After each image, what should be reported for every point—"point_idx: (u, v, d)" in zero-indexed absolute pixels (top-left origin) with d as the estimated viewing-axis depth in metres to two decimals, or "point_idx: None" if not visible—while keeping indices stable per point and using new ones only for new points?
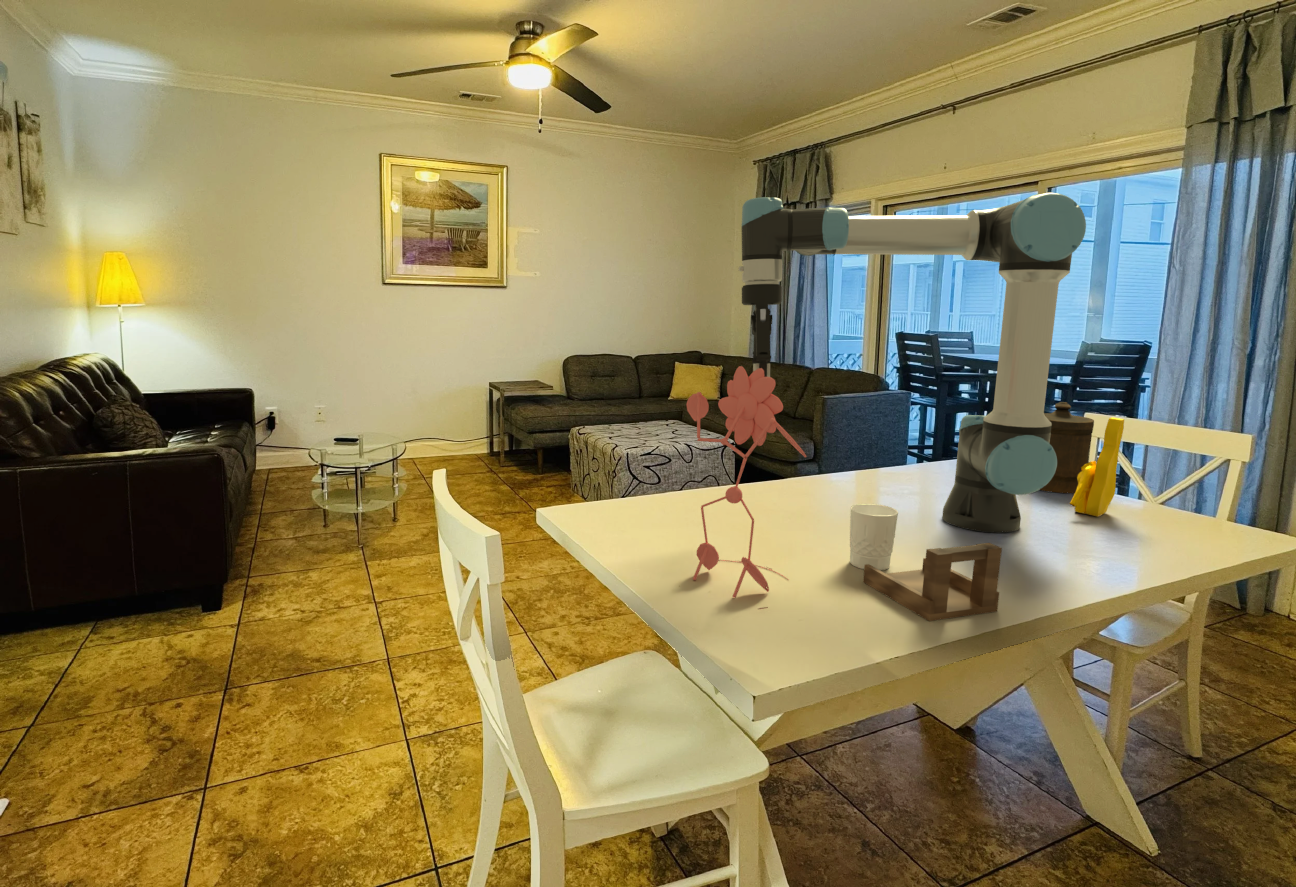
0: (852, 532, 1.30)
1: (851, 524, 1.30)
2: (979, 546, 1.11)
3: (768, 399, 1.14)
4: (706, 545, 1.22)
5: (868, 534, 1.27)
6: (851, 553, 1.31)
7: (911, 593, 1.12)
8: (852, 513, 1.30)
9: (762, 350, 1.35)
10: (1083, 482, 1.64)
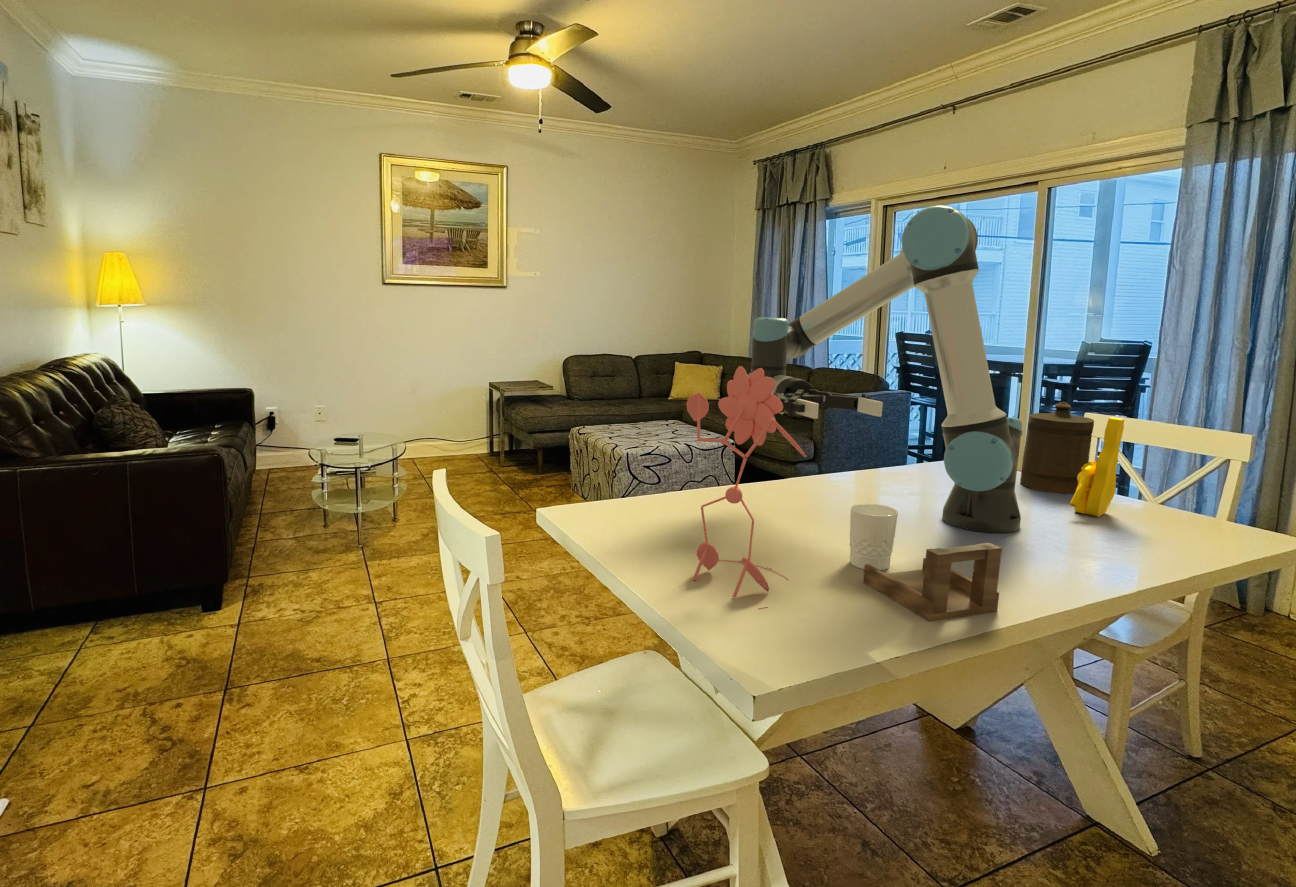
0: (852, 532, 1.30)
1: (851, 524, 1.30)
2: (979, 546, 1.11)
3: (767, 399, 1.14)
4: (706, 545, 1.22)
5: (868, 534, 1.27)
6: (851, 553, 1.31)
7: (911, 593, 1.12)
8: (852, 513, 1.30)
9: None
10: (1083, 482, 1.64)
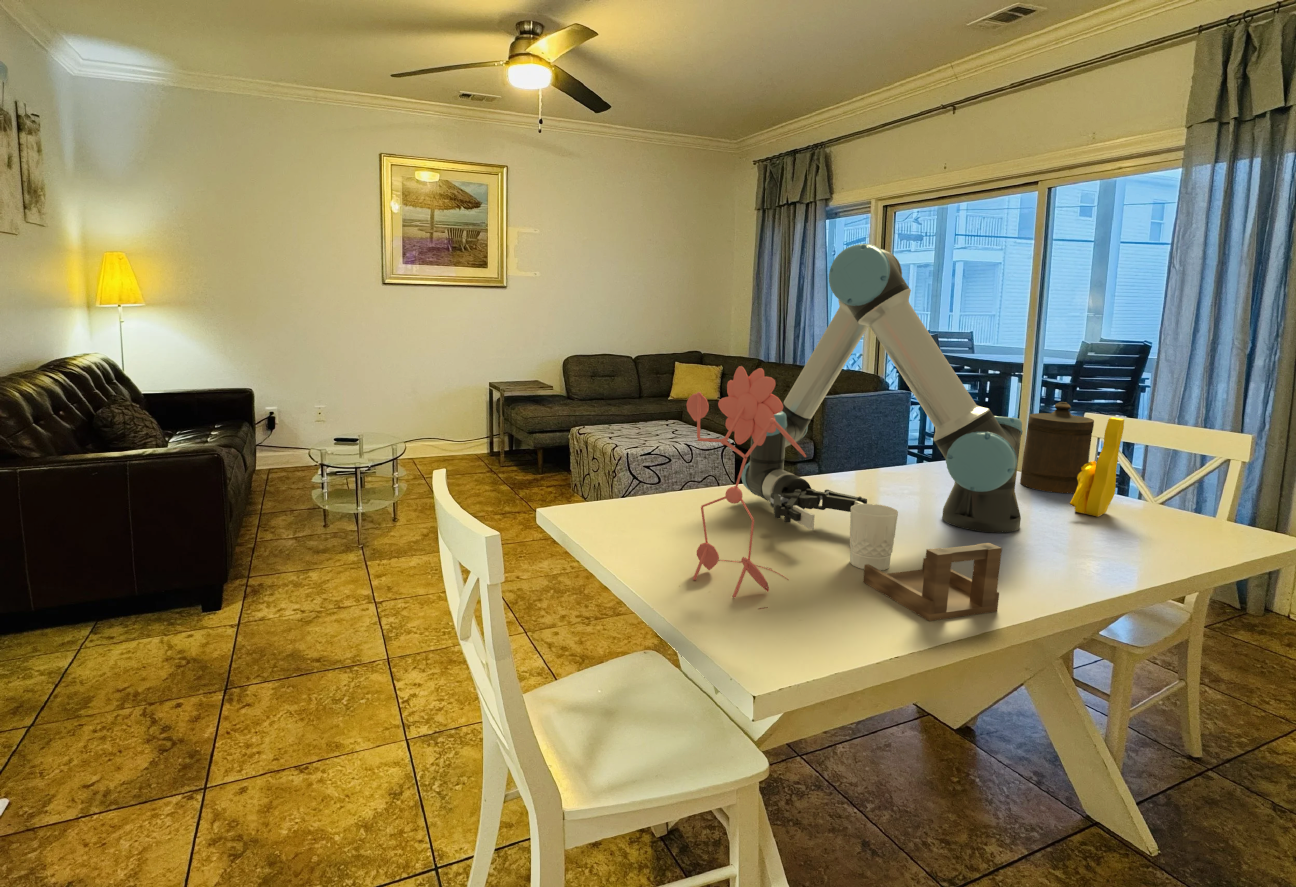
0: (852, 532, 1.30)
1: (851, 524, 1.30)
2: (979, 546, 1.11)
3: (767, 399, 1.14)
4: (706, 545, 1.22)
5: (868, 534, 1.27)
6: (851, 553, 1.31)
7: (911, 593, 1.12)
8: (852, 513, 1.30)
9: (774, 511, 1.43)
10: (1083, 482, 1.64)
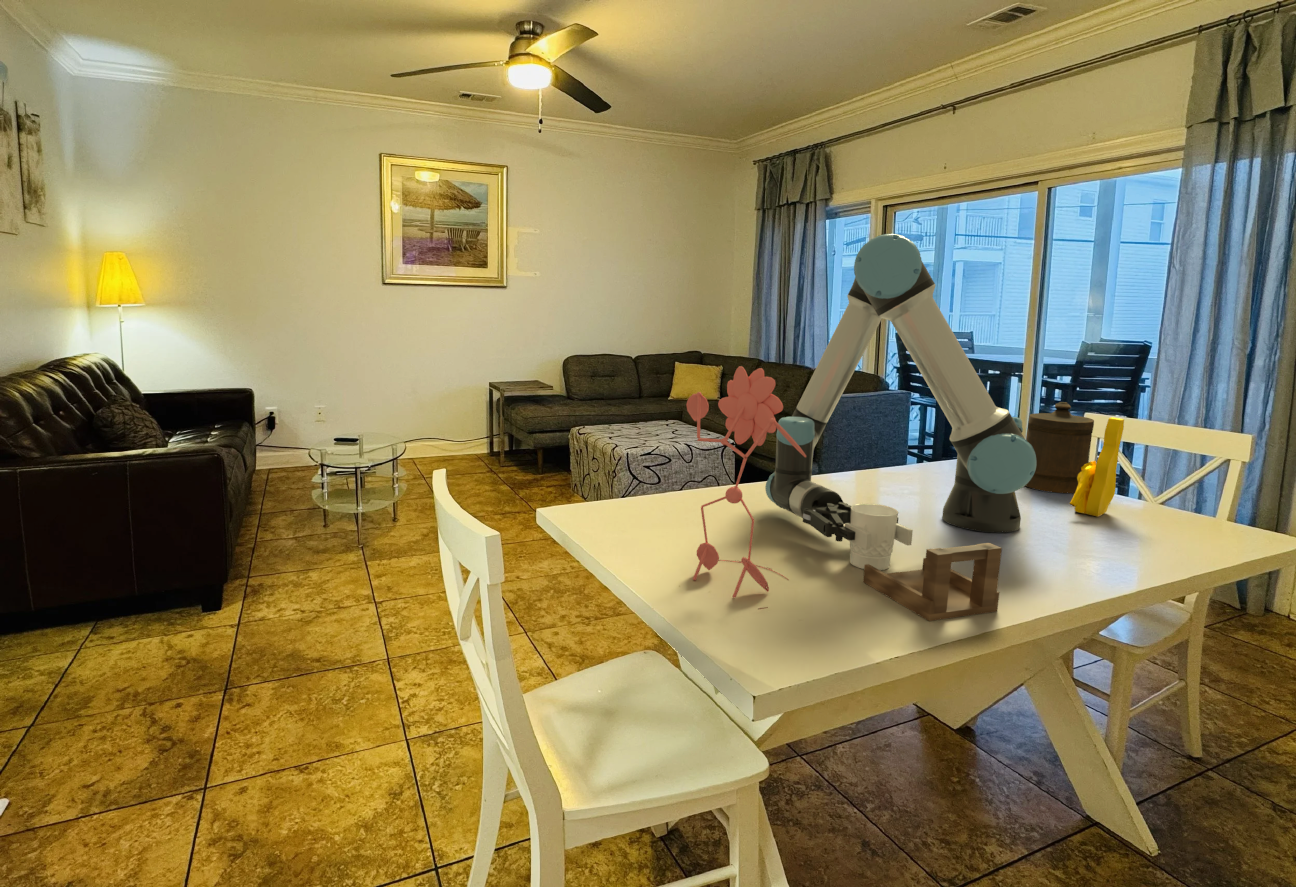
0: None
1: None
2: (979, 546, 1.11)
3: (767, 399, 1.14)
4: (706, 545, 1.22)
5: None
6: (851, 553, 1.31)
7: (911, 593, 1.12)
8: (852, 513, 1.30)
9: (822, 529, 1.32)
10: (1083, 482, 1.64)
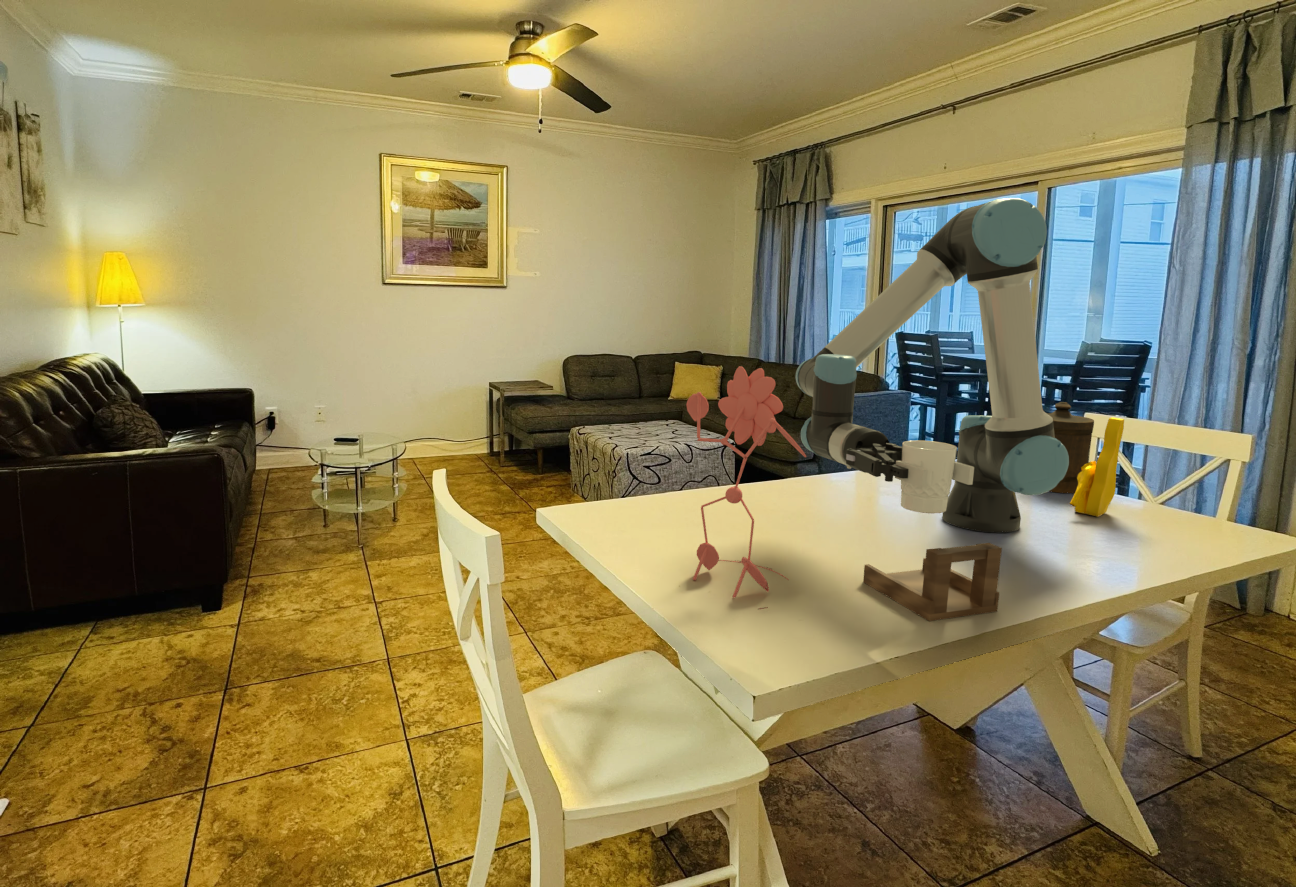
0: None
1: (903, 461, 1.15)
2: (979, 546, 1.11)
3: (767, 399, 1.14)
4: (706, 545, 1.22)
5: None
6: (902, 495, 1.16)
7: (911, 593, 1.12)
8: (904, 449, 1.15)
9: (870, 468, 1.17)
10: (1083, 482, 1.64)
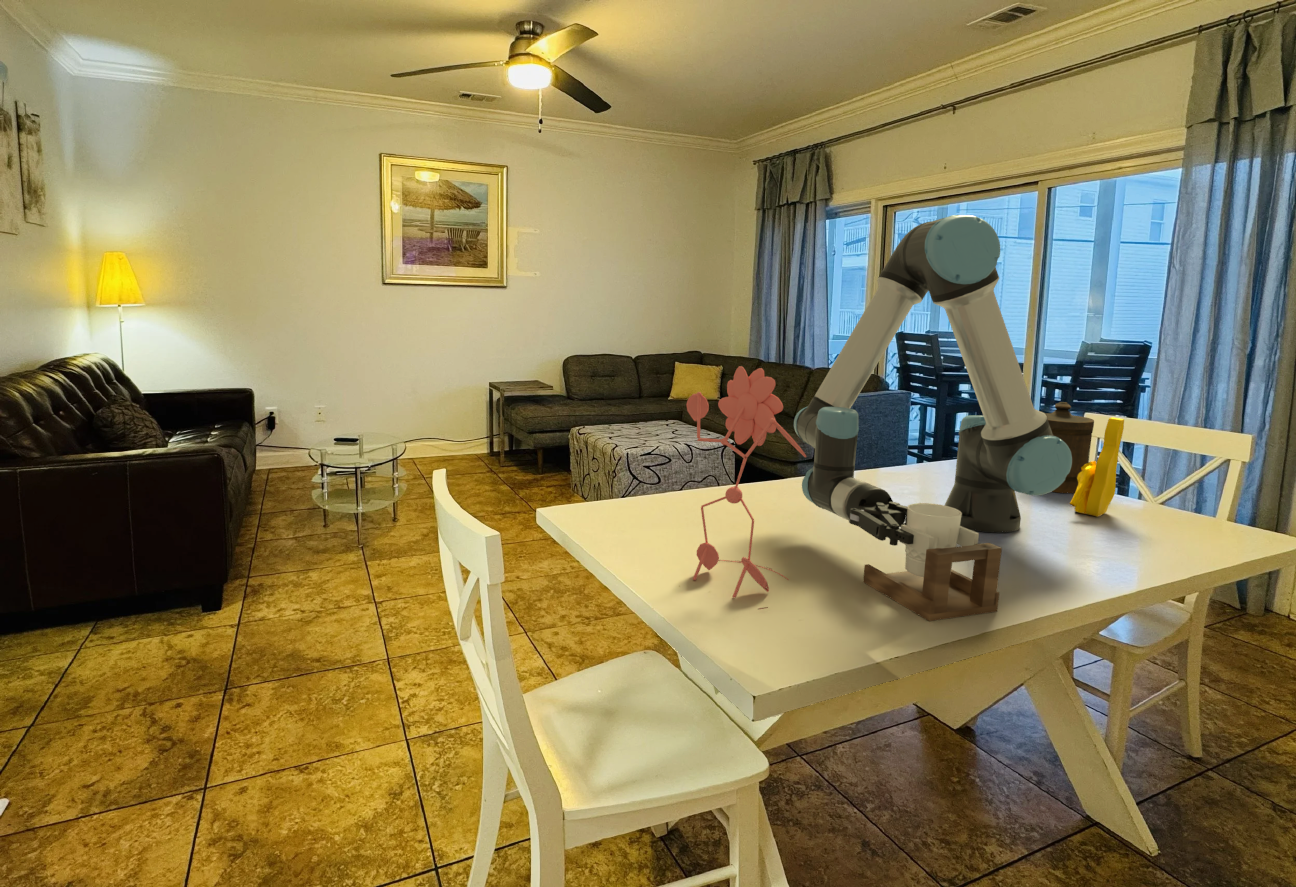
0: None
1: None
2: (979, 546, 1.11)
3: (767, 399, 1.14)
4: (706, 545, 1.22)
5: None
6: (907, 558, 1.17)
7: (911, 593, 1.12)
8: (910, 513, 1.15)
9: (875, 531, 1.18)
10: (1083, 482, 1.64)
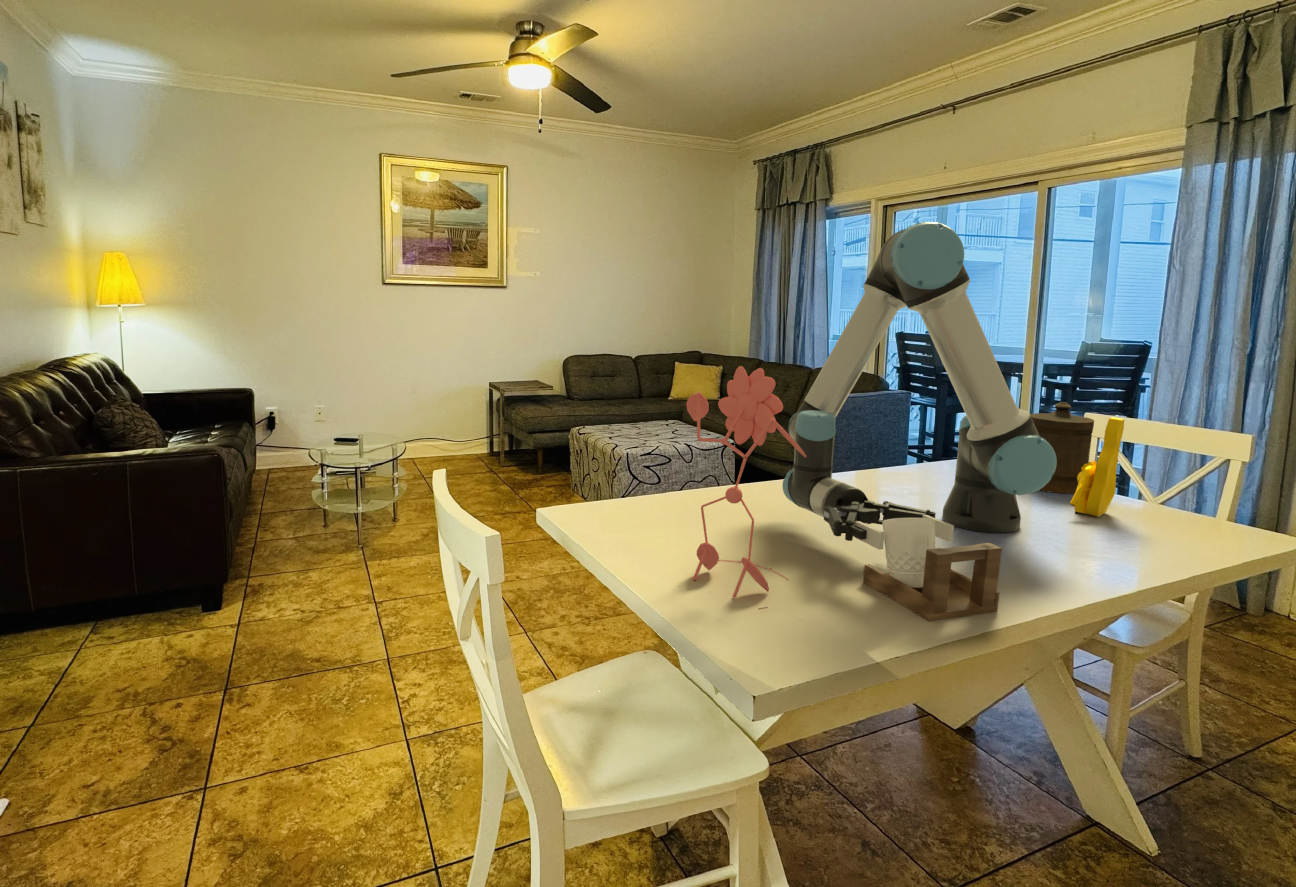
0: (889, 548, 1.17)
1: (886, 539, 1.18)
2: (979, 546, 1.11)
3: (767, 399, 1.14)
4: (706, 545, 1.22)
5: (908, 546, 1.15)
6: (891, 573, 1.18)
7: (911, 593, 1.12)
8: (886, 526, 1.18)
9: (833, 527, 1.25)
10: (1083, 482, 1.64)
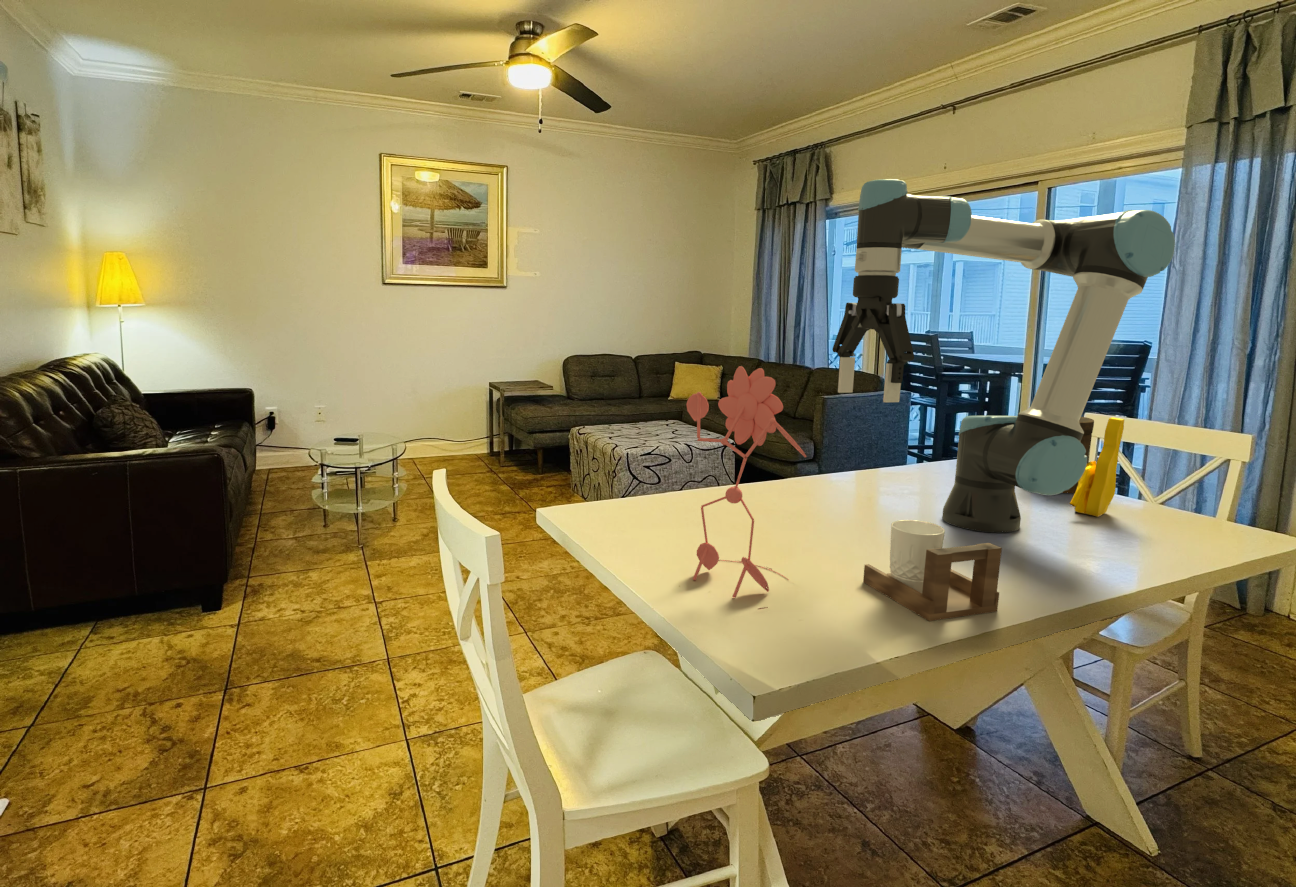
0: (894, 553, 1.16)
1: (893, 544, 1.17)
2: (979, 546, 1.11)
3: (768, 399, 1.14)
4: (706, 545, 1.22)
5: (914, 555, 1.14)
6: (892, 576, 1.18)
7: (911, 593, 1.12)
8: (894, 531, 1.16)
9: (905, 349, 1.23)
10: (1083, 482, 1.64)
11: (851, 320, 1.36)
